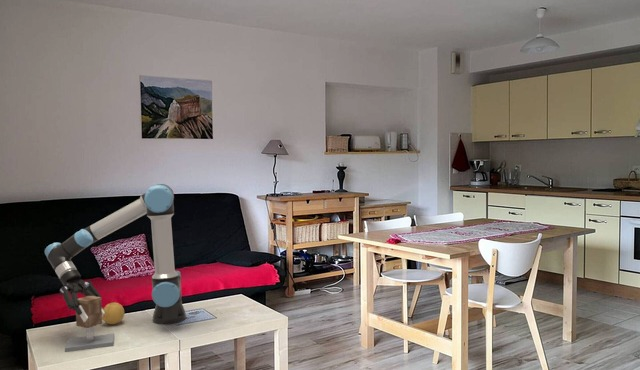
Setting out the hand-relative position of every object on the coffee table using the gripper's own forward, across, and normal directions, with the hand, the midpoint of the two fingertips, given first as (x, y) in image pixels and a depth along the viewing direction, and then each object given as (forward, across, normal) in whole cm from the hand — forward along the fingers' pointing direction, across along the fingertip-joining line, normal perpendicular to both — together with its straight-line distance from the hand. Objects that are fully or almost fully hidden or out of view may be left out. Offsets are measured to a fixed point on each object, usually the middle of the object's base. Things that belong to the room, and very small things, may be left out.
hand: (94, 317), depth 219 cm
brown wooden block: (0, 0, -5) cm, 5 cm away
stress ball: (-4, -23, -21) cm, 32 cm away
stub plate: (+6, 0, -11) cm, 12 cm away
